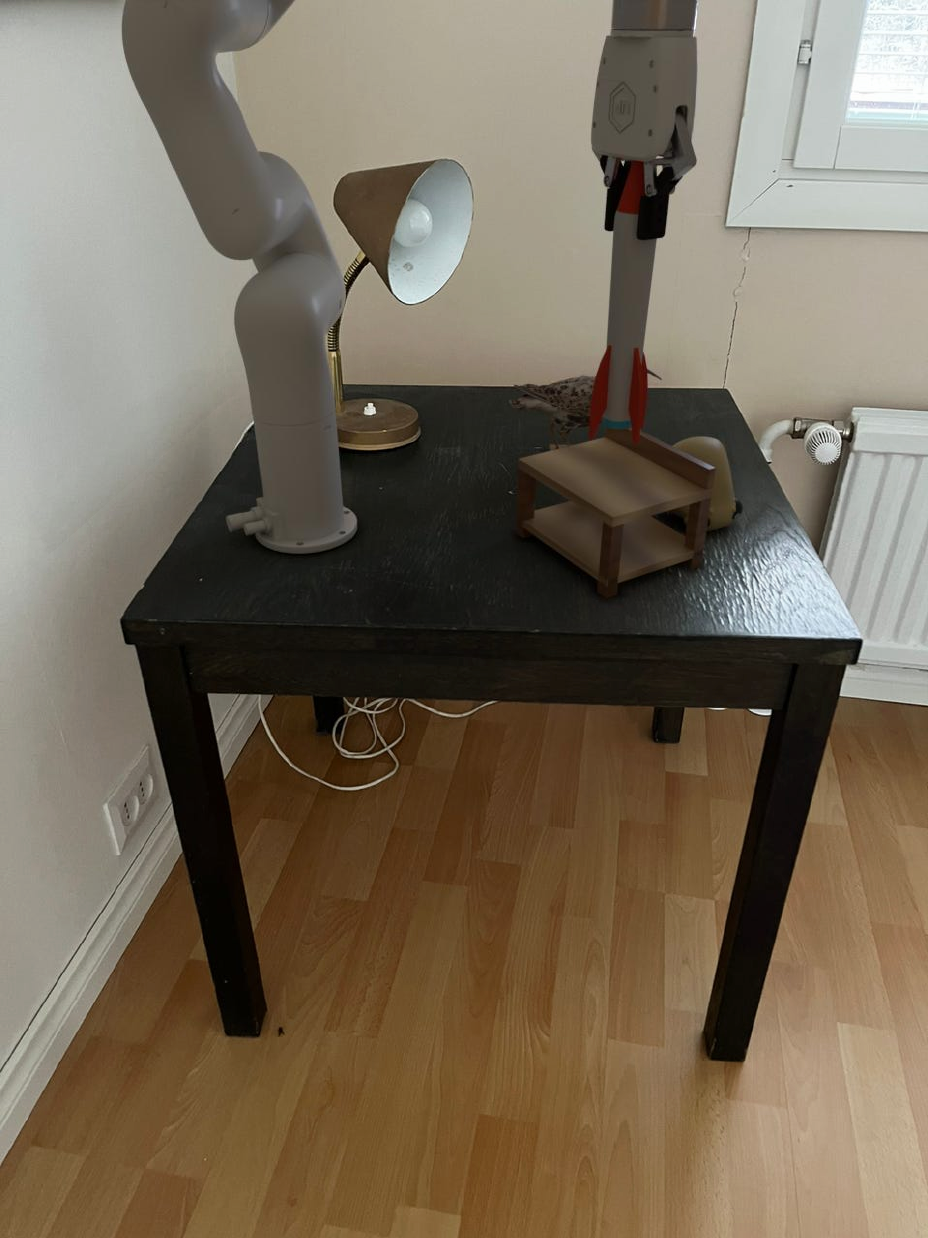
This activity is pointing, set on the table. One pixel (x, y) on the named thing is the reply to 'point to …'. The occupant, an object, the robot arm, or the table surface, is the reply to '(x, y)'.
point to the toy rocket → (625, 320)
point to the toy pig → (722, 498)
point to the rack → (617, 505)
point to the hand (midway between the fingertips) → (634, 231)
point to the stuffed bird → (561, 403)
